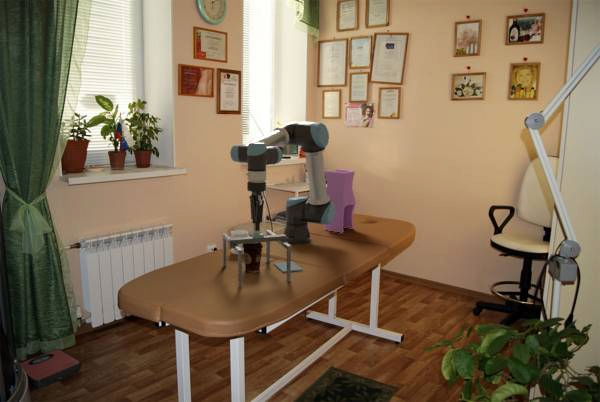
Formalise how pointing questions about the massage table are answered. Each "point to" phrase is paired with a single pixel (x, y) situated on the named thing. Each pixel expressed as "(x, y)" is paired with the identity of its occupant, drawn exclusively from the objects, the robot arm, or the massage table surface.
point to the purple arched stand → (341, 199)
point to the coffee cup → (252, 256)
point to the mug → (238, 235)
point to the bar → (256, 239)
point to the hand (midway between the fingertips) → (256, 237)
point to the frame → (283, 243)
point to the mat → (283, 267)
